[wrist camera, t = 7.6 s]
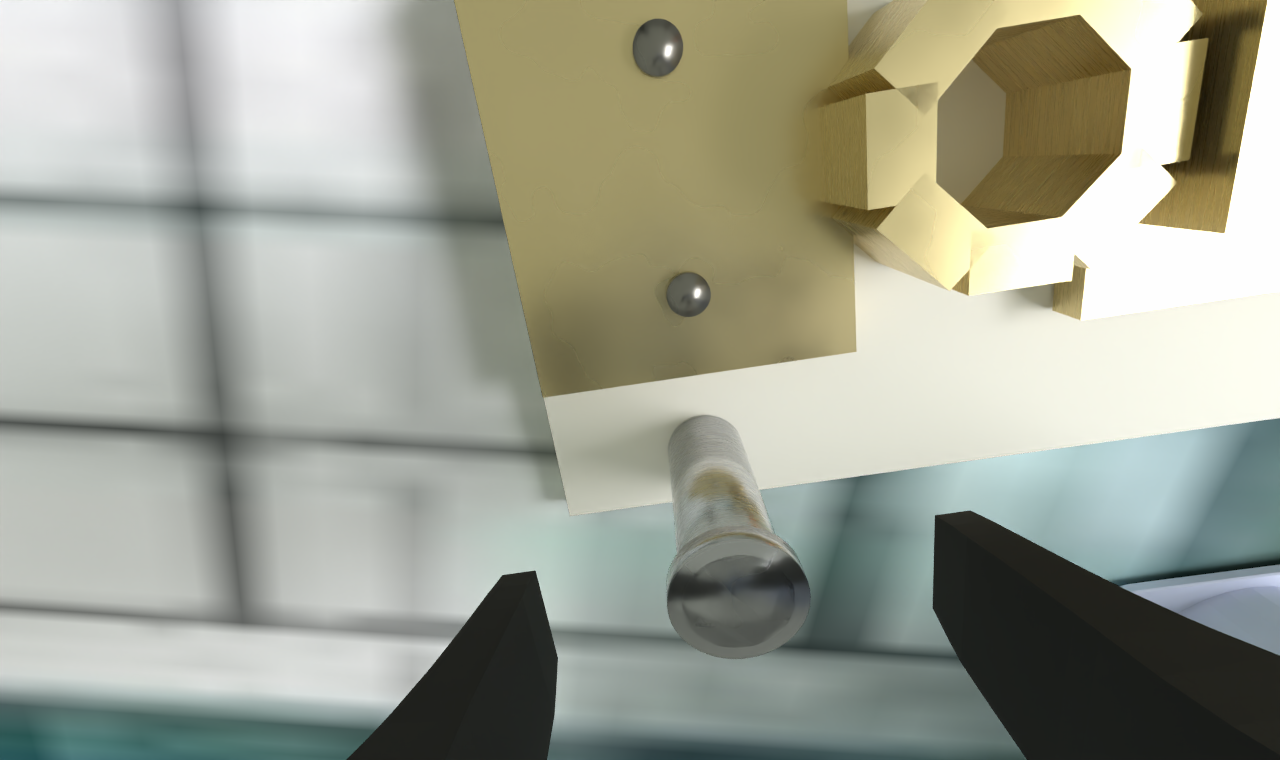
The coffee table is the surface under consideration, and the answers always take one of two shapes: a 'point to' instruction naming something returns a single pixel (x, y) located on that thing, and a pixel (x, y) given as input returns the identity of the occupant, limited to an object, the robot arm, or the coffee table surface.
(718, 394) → the board
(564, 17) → the fixed leaf
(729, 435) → the pin
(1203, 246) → the loose leaf
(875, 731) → the coffee table surface
